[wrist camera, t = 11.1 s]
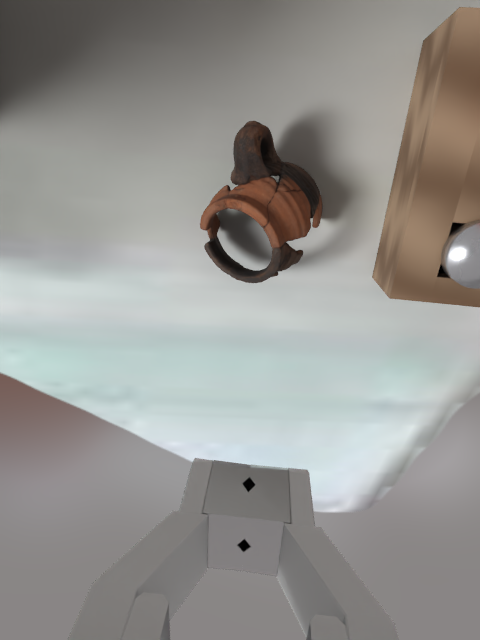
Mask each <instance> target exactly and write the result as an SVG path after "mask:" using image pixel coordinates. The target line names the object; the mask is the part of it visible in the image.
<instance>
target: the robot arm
mask: <svg viewBox="0 0 480 640" xmlns="http://www.w3.org/2000/svg"><path fill="white" fill-rule="evenodd" d="M242 565H243V566H242ZM207 568H215V569H225V570H236V571H246V572H252V573H258V574H265V575H271V576H277V580H278V582H279V584H280V585H281V588H282V590H283V592H284V594H285V596H286V598H287V600H288V602H289V604H290V606H291V608H292V610H293V612H294V614H295V616H296V618H297V620H298V622H299V625H300V627H301V629H302V631H303V632H304V635H305V637H306V640H399V639H398V635H397V631H396V627H395V623H394V622H393V620H392V619H391V618H390V616H389V615H388V614H387V613H386V611H385V610H384V609H383V607H382V606H381V605H380V603H379V602H378V601H377V600H376V598H375V597H374V596H373V595H372V593H371V592H370V591H369V589H368V588H367V587H366V585H365V584H364V583H363V581H362V580H361V579H360V577H359V576H358V575H357V574H356V572H355V571H354V570H353V568H352V567H351V566H350V564H349V563H348V562H347V560H346V559H345V558H344V557H343V555H342V554H341V553H340V551H339V550H338V549H337V547H336V546H335V545H334V544H333V542H332V541H331V540H330V539H329V537H328V536H327V534H326V533H325V532H324V531H323V529H322V528H320V527H315V522H314V512H313V503H312V495H311V486H310V477H309V472H308V470H302V469H291V468H280V467H270V466H259V465H247V464H239V463H231V462H224V461H216V460H214V461H212V460H205V459H198V458H195V459H194V461H193V462H192V466H191V469H190V473H189V476H188V480H187V483H186V487H185V491H184V494H183V498H182V502H181V505H180V509H179V511H172V512H171V513H170V514H169V515H168V516H166V517H165V518H164V519H163V520H162V521H161V522H160V523H159V524H158V525H156V526H155V527H154V528H153V529H152V530H151V531H150V532H149V533H148V534H146V535H145V536H144V537H143V538H142V539H141V540H140V541H139V542H138V543H136V544H135V545H134V546H133V547H132V548H131V549H130V550H129V551H128V552H127V553H125V554H124V555H123V556H122V557H121V558H120V559H119V560H118V561H117V562H115V563H114V564H113V565H112V566H111V567H110V568H109V569H108V570H107V571H105V572H104V573H103V574H102V575H101V576H100V577H99V578H98V579H97V580H95V581H94V582H93V583H92V585H91V588H90V590H89V592H88V595H87V597H86V599H85V601H84V603H83V606H82V608H81V610H80V612H79V615H78V617H77V619H76V621H75V624H74V626H73V628H72V631H71V633H70V635H69V637H68V640H170V620H171V618H172V617H173V616H174V614H175V613H176V612H177V610H178V609H179V608H180V606H181V605H182V604H183V602H184V601H185V599H186V598H187V597H188V595H189V594H190V593H191V591H192V590H193V589H194V587H195V586H196V585H197V583H198V582H199V581H200V579H201V578H202V577H203V575H204V574H205V572H206V571H207Z"/></svg>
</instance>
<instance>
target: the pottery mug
mask: <svg viewBox="0 0 480 640" xmlns="http://www.w3.org/2000/svg"><path fill="white" fill-rule="evenodd" d="M234 161H235V167H234V170H233V171H232V174H231V181H232V183H234V184H235V185H238V186H237V187H235V188H234V189H233V190H231V191H230V187H229V186H228V185H226V186H224V187H223V188H222V189H221V190H220V191H219V192H218V193H217V194H216V195H215V196H214V197H213V199H212V200H211V202H210V204H209V206H208V207H207V208H206V209H205V211H204V213H203V215H202V217H201V222H200V228H201V229H203V230H207V232H208V235H209V238H210V241H209V242H207V243H206V244H205V250H206V252H207V253H208V255H209V257H210V258H211V259H212V260H213V262H214V263H215V264H216V265H217V266H218V267H219V268H220V269H221V270H222V271H224V272H225V273H227V274H228V275H231V276H232V277H233V278H235V279H237V280H241V281H244V282H248V283H258V282H263V281H264V280H267V279H268V278H270V277H273V276H277V275H278V271H282V270H286V269H288V268H289V267H290V266H291V265H293V264H296V263H298V262H299V260H300V258H301V257H302V255H303V251H302V250H298V251H295V250H294V249H293V248H291V247H290V246H289V245H288V244H287V243H286V242H287V241H291V240H294V239H298V238H301V237H305V236H306V235H307V233H308V232H309V230H310V228H311V222H310V218H313V225H312V226H313V227H314V228H317V227H318V226H319V223H320V219H321V214H322V199H321V195H320V191H319V189H318V186H317V185H316V183H315V181H314V180H313V178H312V177H311V176H310V175H309V174H308V173H307V172H306V171H305V170H304V169H302V168H300V167H298V166H296V165H294V164H291V163H288V162H283V161H281V160H280V158H279V157H278V155H277V153H276V151H275V148H274V143H273V138H272V135H271V132H270V130H269V128H268V127H266V126H264V125H262V124H260V123H259V122H256V121H249V122H247V123H246V124H245V126H244V127H243V128H242V129H240V130H239V132H238V133H237V135H236V138H235V141H234ZM271 176H279V182H278V183H277V182H276V180H275V179H274V178H272V177H271ZM228 208H230V209H236V210H239V211H242V212H244V213H246V214H248V215H249V216H251V217H252V218H253V219H255V220H256V221H257V222H258V223H259V224H260V225H261V226H262V227H263V229H264V231H265V232H266V234H267V236H268V238H269V241H270V244H271V247H272V249H273V250H272V259H271V262H270V264H269V265H268V267H267V268H265V269H263V270H260V271H253V270H250V269H246V268H244V267H243V266H242V265H240V264H239V263H237V262H236V261H234V260H233V259H232V258H231V257H230V256H228V255H227V253H226V252H225V251H224V249H223V247H222V246H221V244H220V242H219V239H218V237H217V232H218V229H219V227H220V221H219V218H218V216H217V214H216V213H218V212H219V211H221V210H224V209H228Z"/></svg>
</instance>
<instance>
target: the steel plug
mask: <svg viewBox="0 0 480 640" xmlns="http://www.w3.org/2000/svg"><path fill="white" fill-rule="evenodd" d="M441 264H442V267H443V270H444V271H445V273H446V274H447V275H448V276H449V277H450V278H451V279H453V280H454V281H456V282H457V283H459V284H460V285H462V286H464V287H468V288H473V289H480V220H476V221H471V222H469V223H466V224H464V225H460V224H457V223H454V222H453V223H452V226H451V230H450V233H449V236H448V239H447V240H446V242H445V244H444V246H443V249H442V253H441Z"/></svg>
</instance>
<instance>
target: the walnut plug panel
mask: <svg viewBox="0 0 480 640" xmlns="http://www.w3.org/2000/svg"><path fill="white" fill-rule="evenodd" d="M476 220H480V8H467V7H459V8H458V9H457V10H456V11H455V12H454V13H453V14H452V15H451V16H450V17H449V18H448V19H446V20H445V21H444V22H443V23H442V24H441V25H440V26H439V27H438V28H437V29H436V30H435V31H433V32H432V33H431V34H430V35H429V36H428V37H427V38H426V39H425V40H424V41H423V45H422V50H421V54H420V59H419V63H418V68H417V73H416V77H415V82H414V87H413V91H412V96H411V100H410V105H409V110H408V114H407V119H406V124H405V128H404V133H403V137H402V142H401V147H400V151H399V156H398V161H397V165H396V170H395V174H394V179H393V184H392V188H391V193H390V198H389V202H388V207H387V211H386V216H385V221H384V225H383V230H382V235H381V239H380V244H379V248H378V253H377V258H376V262H375V267H374V272H373V276H372V278H373V279H374V280H375V281H376V283H377V284H378V285H379V286H380V287H381V289H382V290H383V291H384V292H385V293H386V295H387V296H388V297H389V298H391V299H402V300H412V301H422V302H432V303H442V304H452V305H462V306H472V307H480V289H473V288H468V287H464V286H462V285H460V284H459V283H457V282H456V281H454V280H453V279H451V278H450V277H449V276H448V275H447V274H446V273H438V271H439V268H440V264H441V253H442V249H443V246H444V244H445V242H446V240H447V239H448V236H449V233H450V230H451V226H452V223H453V222H456V223H469V222H471V221H476Z"/></svg>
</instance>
